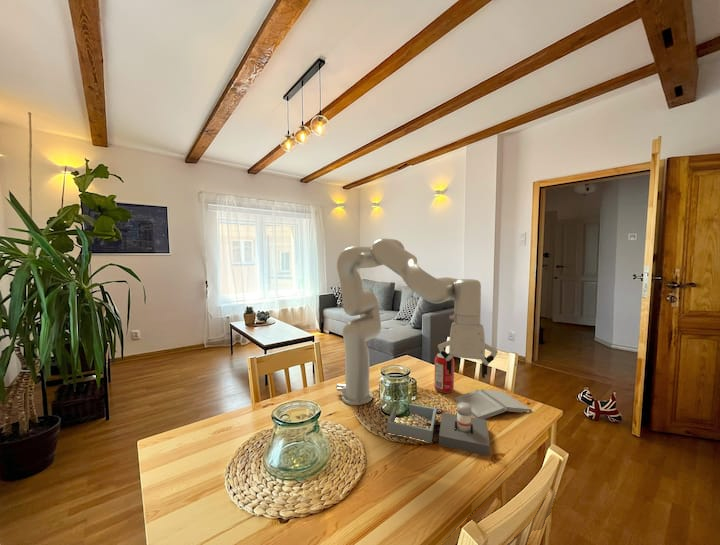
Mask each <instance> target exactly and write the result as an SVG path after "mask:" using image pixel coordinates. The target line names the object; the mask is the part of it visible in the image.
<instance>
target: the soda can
mask: <svg viewBox="0 0 720 545" xmlns="http://www.w3.org/2000/svg"><path fill="white" fill-rule="evenodd" d="M446 353H447V352H446ZM448 353H449V352H448ZM448 353H447V354H448ZM451 359H452V371H451V374H449V370H447V361H446V359H445V358H444V357H443V356H442V355H441V353H440V352H438V353H437V354H436V356H435V357H434V379H433V380H434V381H433V382H434V389H435V390H436V391H438V392H440V393H443V394H449V393H452V392H453V391H454V386H455V359H454V356H453V357H452V358H451Z"/></svg>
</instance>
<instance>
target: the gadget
mask: <svg viewBox="0 0 720 545" xmlns="http://www.w3.org/2000/svg"><path fill="white" fill-rule="evenodd" d="M453 401H455V402H456V403H457V404H458V403H467V404H469V405H471V407H472V410H471V416H472V417H473V418H478V419H484V420H487V419H489V418H492V417H494V416H497V415H499V414H502V413H505V412H511V413H512V412H514V413H523V412H527V411H530V412H532V408H530V406H527V405H526V404H524V403H522V402H520V401H519V400H518V399H516V398H514V397H513V396H512V395H510V394H508V393H506V392H504V391H503V390H502V391H501V390H493V389H484V388H481V389H480V390H479V389H476V390H471V391H470V392H467V393H463V394H461V395H457V396H454V400H453ZM523 414H524V413H523Z"/></svg>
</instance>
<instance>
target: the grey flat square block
mask: <svg viewBox="0 0 720 545" xmlns="http://www.w3.org/2000/svg"><path fill="white" fill-rule="evenodd" d="M455 428H456V430H455ZM488 429H489V428H488V422H487V419H478V418H475V417H474V416H471V434H470V433H465V432H459V431H457V413H456V414H455V413H451V412H450V413H449V412H445V411H444V412H442V413H441V420H440V426H439V432H438V446H441V447H445V448H450V449H454V450H460V451H464V452H468V453H473V454H478V455H481V456H488V457H490V453H491V452H490V450H491V449H490V447H491V445H490V437H489V430H488Z"/></svg>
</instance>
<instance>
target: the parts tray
mask: <svg viewBox="0 0 720 545" xmlns="http://www.w3.org/2000/svg"><path fill="white" fill-rule="evenodd" d="M396 409H397V407H394V406H393V409H392V410H391V413H390V415H389V417H388V419H387V422H386V434H387V433H391V434H396V435H402V436H406V437H412V438H416V439H420V440H424V441H426V442H428V443H427V444H433V441H432V439H434V435H433V433H434V434H435V429H434V425H435V426H436V423H437V408H436V407H430V406H426V405H419V404H414V403H409V411H410V413H412V414H417V415H420V416H423V417H425V419H427V420H429V421H431V426H430V429H427V428H422V427H417V426H412V425H407V424H401V423H396V422H394V420H395V418H396ZM435 422H436V423H435ZM426 442H425V443H426Z"/></svg>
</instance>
